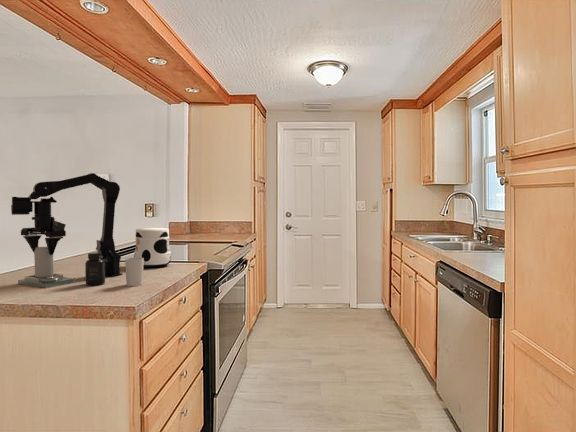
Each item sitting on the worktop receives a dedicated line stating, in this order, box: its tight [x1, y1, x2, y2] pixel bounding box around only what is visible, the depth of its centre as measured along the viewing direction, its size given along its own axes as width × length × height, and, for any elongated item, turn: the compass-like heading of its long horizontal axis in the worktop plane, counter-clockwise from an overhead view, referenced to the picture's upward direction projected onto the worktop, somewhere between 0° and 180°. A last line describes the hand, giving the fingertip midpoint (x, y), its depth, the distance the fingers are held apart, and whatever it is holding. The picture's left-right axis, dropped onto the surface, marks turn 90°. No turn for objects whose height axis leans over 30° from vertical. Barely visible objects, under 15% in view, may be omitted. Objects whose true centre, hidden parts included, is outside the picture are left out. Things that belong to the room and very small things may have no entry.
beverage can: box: [33, 246, 55, 278], centre depth 167 cm, size 6×6×12 cm
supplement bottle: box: [84, 251, 106, 287], centre depth 163 cm, size 7×7×12 cm
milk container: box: [133, 227, 172, 268], centre depth 207 cm, size 17×17×18 cm
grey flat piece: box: [17, 272, 76, 289], centre depth 165 cm, size 16×12×3 cm
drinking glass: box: [124, 256, 144, 287], centre depth 163 cm, size 7×7×10 cm
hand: (43, 254), depth 166 cm, fingers open, 9 cm apart
